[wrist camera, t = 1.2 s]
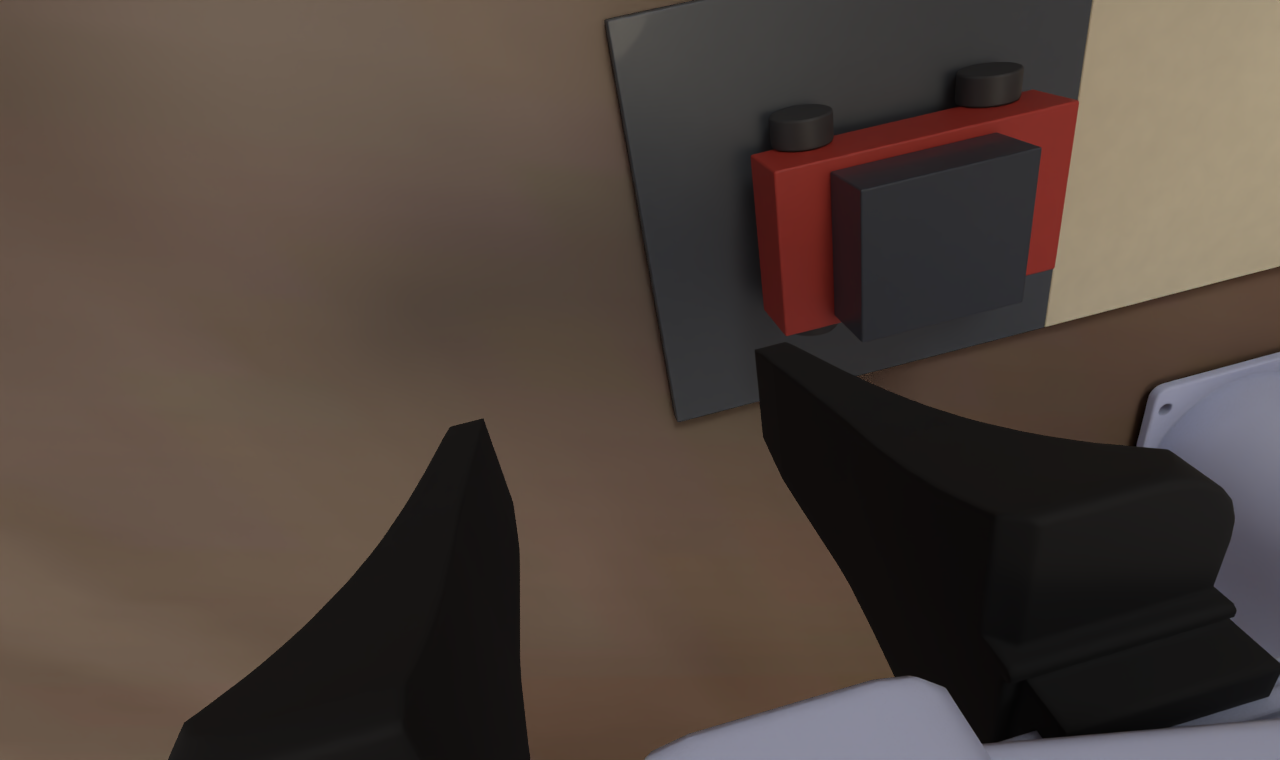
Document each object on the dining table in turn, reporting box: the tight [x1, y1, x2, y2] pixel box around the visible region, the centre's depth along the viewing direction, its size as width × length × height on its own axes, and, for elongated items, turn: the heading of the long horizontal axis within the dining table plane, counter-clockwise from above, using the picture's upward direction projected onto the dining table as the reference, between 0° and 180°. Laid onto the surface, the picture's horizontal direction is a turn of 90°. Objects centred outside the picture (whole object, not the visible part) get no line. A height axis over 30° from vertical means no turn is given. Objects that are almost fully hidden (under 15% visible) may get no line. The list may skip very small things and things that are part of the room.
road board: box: [605, 0, 1280, 422], centre depth 21 cm, size 12×24×1 cm, turn 100°
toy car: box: [751, 62, 1079, 343], centre depth 19 cm, size 6×8×4 cm
